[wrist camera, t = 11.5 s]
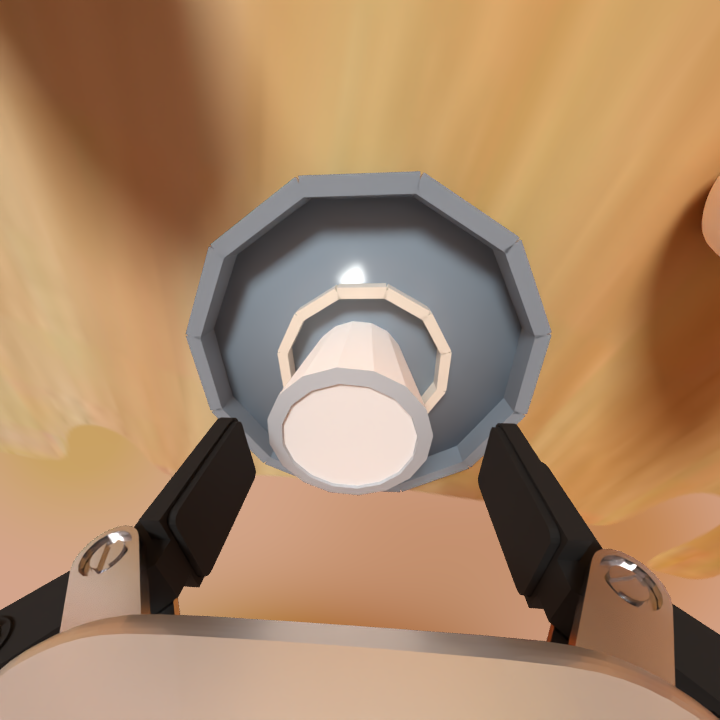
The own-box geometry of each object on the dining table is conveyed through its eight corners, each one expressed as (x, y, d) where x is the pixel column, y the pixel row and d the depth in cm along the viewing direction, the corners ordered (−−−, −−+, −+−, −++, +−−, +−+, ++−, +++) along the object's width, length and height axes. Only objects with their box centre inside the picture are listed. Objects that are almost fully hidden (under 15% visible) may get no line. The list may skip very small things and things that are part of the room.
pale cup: (316, 296, 16) (278, 346, 9) (429, 329, 16) (463, 397, 10) (295, 392, 19) (256, 477, 13) (391, 417, 19) (399, 511, 13)
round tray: (569, 173, 13) (604, 164, 11) (490, 469, 22) (501, 494, 20) (168, 187, 14) (134, 181, 12) (248, 464, 23) (236, 487, 21)
